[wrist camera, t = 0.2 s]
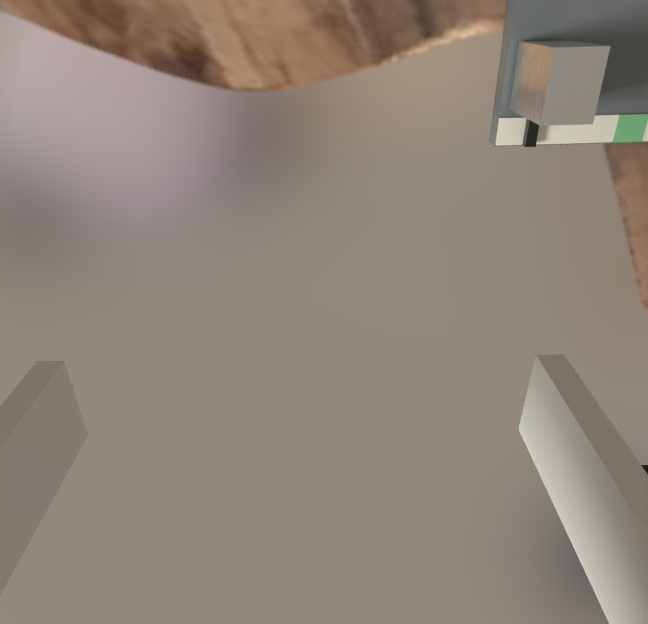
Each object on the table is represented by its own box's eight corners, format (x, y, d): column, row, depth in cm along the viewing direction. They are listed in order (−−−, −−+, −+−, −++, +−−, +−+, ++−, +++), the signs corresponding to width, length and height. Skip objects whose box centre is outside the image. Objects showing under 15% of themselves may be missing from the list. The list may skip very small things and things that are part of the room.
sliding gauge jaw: (504, 144, 36) (533, 166, 31) (519, 41, 33) (554, 47, 28) (547, 142, 36) (583, 164, 31) (567, 40, 32) (610, 45, 28)
